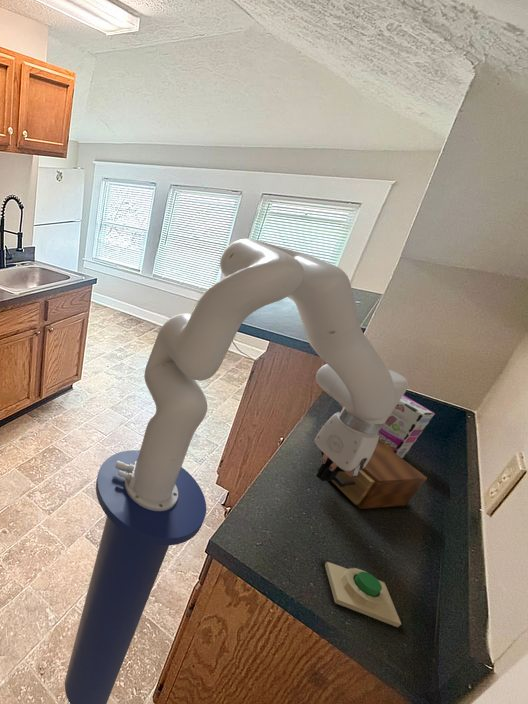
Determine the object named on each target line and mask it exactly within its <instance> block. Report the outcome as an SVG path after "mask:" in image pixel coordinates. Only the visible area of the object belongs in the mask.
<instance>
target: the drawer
mask: <svg viewBox="0 0 528 704" xmlns="http://www.w3.org/2000/svg"><path fill="white" fill-rule="evenodd" d="M331 482H332V483H333V484H334V485H335V486H336V487H337V488H338V489H339V490H340V491H341V493H343V494H344V495H345V496H346V497H347V498H348V500H350V501H351V502H352V503H353V504H354V505H355V506H356V504H360V502H361V501H362V499H363V498H364V497H365V495H366V494H367V492H368V491H369V490H370V488H371V487H372V485H373V484H374V483H375V480H374V479H373V478H372V477H370V476H369V475H368V474H367V473H366V472H365V471H364V470H363V469H362V470H359V472H358V476H357V477H350V476H348V475H347V474H345V473H344V472H338V473H337V475H336V476H335V478H334V479H333V480H332V481H331Z"/></svg>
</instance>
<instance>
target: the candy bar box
mask: <svg viewBox="0 0 528 704" xmlns="http://www.w3.org/2000/svg"><path fill="white" fill-rule="evenodd" d="M435 415H436V413H435V412H434V411H432V410H430V409H428V408H427V407H425V406H423V405H421V404H420V403H418V402H416V401H415V400H413V399H411V398H409V397H408V396H406V395H405V394H404V395H403V396H402V398H401V399H400V401H399V402H398V404H397V405H396V407H395V408H394V410H393V411H392V413H391V414H390V416H389V417H388V419H387V420H386V422H385V423H384V425H383V426H382V428H381V429H380V431H379V432H378V435H379V439H378V443H377V444H380V443H383V444H384V445H385V446H387V447H388V448H389V449H391V450H392V451H393V452H394V453H396V454H397V455H398V456H400V457H401V458H402V459H404V458H405V457H406V455H407V454H408V452H409V451H410V449H411V448H412V447H413V445H414V444H415V443H416V442H417V440H418V439H419V437H420V436H421V434H423V431H424V430H425V429H426V427H427V426H428V425H429V423H430V422H431V420H432V419H433V417H435Z"/></svg>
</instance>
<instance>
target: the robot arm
mask: <svg viewBox="0 0 528 704" xmlns="http://www.w3.org/2000/svg"><path fill="white" fill-rule="evenodd" d="M219 267H220V271H221V273H222V275H223V276H224V278H222V279H220V280H219V281H217V282H215V283H214V284H212V285H211V286H210V287H208V288H207V289H206V290H205V291H204V292H203V293H202V294H201V295H200V297H199V298H198V301H197V302H196V304H195V306H194V308H193V310H192V312H191V313H179V314H176V315H173V316H172V317H170V318H169V319H167V321H165V322H164V323H163V325H162V326H161V328H160V329H159V332H158V334H157V336H156V338H155V341H154V344H153V347H152V349H151V352H150V354H149V357H148V360H147V362H146V366H145V370H144V382H145V385H146V388H147V389H148V391H149V394H150V395H151V398H152V400H153V402H154V405H155V414H154V415H153V416H152V417H151V418H150V419H149V420H148V423H147V425H146V428H145V431H144V435H143V437H142V438H143V439H142V441H141V446H140V448H139V450H140V452H139V456H138V459H137V461H135V464H134V465H133V464H130V465H128V464H125V463H124V462H121V461H118V460H117V463H116V467H115V468H117V469H120V471H119V474H118V476H121V477H124V478H125V489H126V491H127V493H128V495H129V496H130V497H131V499H132V500H133V501H134V502H136V503H137V504H138V505H140V506H142V507H144V508H146V509H149V510H153V511H165V510H168V509H170V508H172V507H173V506H174V505H175V504H176V502H177V499H178V489H177V487H176V485H175V483H176V481H177V478H178V475H179V472H180V470H181V467H182V468H183V464H184V461H185V459H186V455H187V454H188V453H187V452H188V450H189V447H190V444H191V442H192V439H193V437H194V435H195V432H196V431H197V429H198V428H199V426H200V424H202V422H203V421H204V419H205V417H206V416H207V412H208V400H207V398H206V395H205V393H204V391H203V390H202V388H201V386H200V384H199V383H198V382H197V381H199V382H201V381H202V382H203V381H206V380H209V379H210V378H212V377H213V376H214V375H215V374H216V373H217V372H218V371H219V369H220V367H221V365H222V364H223V361H224V359H225V357H226V355H227V353H228V351H229V349H230V348H231V345H232V343H233V341H234V339H235V337H236V335H237V333H238V331H239V329H240V327H241V326H242V324H243V322H244V321H245V320H246V319H247V318H248V317H249V316H250V315H252V314H253V313H254V312H256V311H257V310H259V309H262V308H264V307H265V306H269V305H271V304H273V303H274V304H275V303H277V302H280V301H283V300H284V299H286V298H288V299H290V300H291V301H293V302H294V304H295V306H296V308H297V310H298V314H299V318H300V320H301V323H302V326H303V329H304V333H305V335H306V339H307V342H308V343H309V345H310V346H311V348H312V349H313V350H314V352H315V353H316V354H317V356H318V357H319V358H320V359H321V360H322V361H323V362H324V363H325V364H323V365H322V366H321V367H320V368H319V369H318V370H317V372H316V375H315V380H316V383H317V385H318V386H319V388H320V389H322V391H324V392H325V393H326V394H327V395H328V396H330V397H331V398H332V399H333V400H334V401H336V403H338V404H339V406H340V408H341V410H340V411H337V412H335V413H334V414H332V415H331V416H330V418H329V419H328V420H327V421H326V422H325V423H324V424H323V426H322V427H321V429H320V430H319V431H318V433H317V434H316V436H315V438H314V444H315V446H316V447H317V448H318V449H319V451H320V452H321V457H322V458H321V465H320V467H319V469H318V472H317V473H316V474H315V475H316V477H317V478H318V479H319V480H320V481H321V482H332V480H333V479H334V478H335V476H336V475H337V473H338V472H344V473H345V474H347V475H348V476H350V477H357V476H358V472H359V470H362V469H364V467H365V466H366V465H367V463H368V462H369V460H370V458H371V456H372V454H373V452H374V450H375V448H376V446H377V443H378V439H379V435H378V432H379V431H380V429H381V428H382V426H383V425H384V423H385V422H386V420H387V419H388V417H389V416H390V414H391V413H392V411H393V410H394V408H395V407H396V405H397V404H398V402H399V401H400V399H401V398H402V396H403V395H404V396H405V394H406V392H407V390H408V388H409V382H408V380H407V379H406V377H405V376H403V375H402V374H400V373H398V372H396V371H394V370H392V369H389V368H388V366H387V365H386V363H385V362H384V361H383V359H382V357H381V356H380V355H379V354H378V352H377V350H376V349H375V347H374V346H373V344H372V343H371V341H370V340H369V339H368V337H367V336H366V334H365V333H364V331H363V330H362V326H361V324H360V323H361V322H360V318H359V314H358V310H357V305H356V301H355V298H354V297H355V296H354V293H353V289H352V285H351V282H350V281H351V280H350V278H349V276H348V275H347V273H346V272H345V270H344V269H342V268H340V267H339V266H336V265H335V264H332V263H329V262H327V261H325V260H322V259H320V258H317V257H315V256H313V255H310V254H307V253H304V252H300V251H295V250H292V249H288V248H285V247H282V246H278V245H274V244H271V243H268V242H264V241H261V240H258V239H256V238H255V239H254V238H241V239H238V240H235V241H233V242H231V243H230V244H228V246H226V248H225V249H224V250H223V252H222V253H221V256H220V261H219ZM121 470H124V471H127V472H128V473H126V472H124V471H121Z"/></svg>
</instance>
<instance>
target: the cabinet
mask: <svg viewBox="0 0 528 704" xmlns="http://www.w3.org/2000/svg"><path fill="white" fill-rule="evenodd" d="M363 470H364V471H365V472H366V473H367V474H368V475H369V476H370V477H372V478H373V479H374V480H375V483H374V484H373V485H372V487H371V488H370V490H369V491H368V492H367V494H366V495H365V497H364V498H363V499H362V501H361V502H360V504H356V505H355V506H356V507H357V508H358V509H360V510H362V509H363V510H364V509H375V508H376V509H377V508H388V507H389V508H391V507H402V506H403V507H404V506H407V504H408V503H409V502H410V501H411V499H412V498H413V496H415V494H416V493H417V492H418V491H419V489H420V488H421V487H422V486H423V484H424V483H425V481H427V479H428V477H427V476H425V475H424V474H423V473H422V472H420V471H419V470H418V469H416V468H415V467H414V466H412V465H411V464H410V463H408V462H407V461H406V460H405V459H404V458H401V457H400V456H398V455H397V454H396V453H394V452H393V451H392V450H391V449H389V448H388V447H387V446H385V445H384V444H383V443H380V444H377V446H376V448H375V450H374V452H373V454H372V456H371V458H370V460H369V462H368V463H367V465H366V466H365V467H364V469H363Z"/></svg>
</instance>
